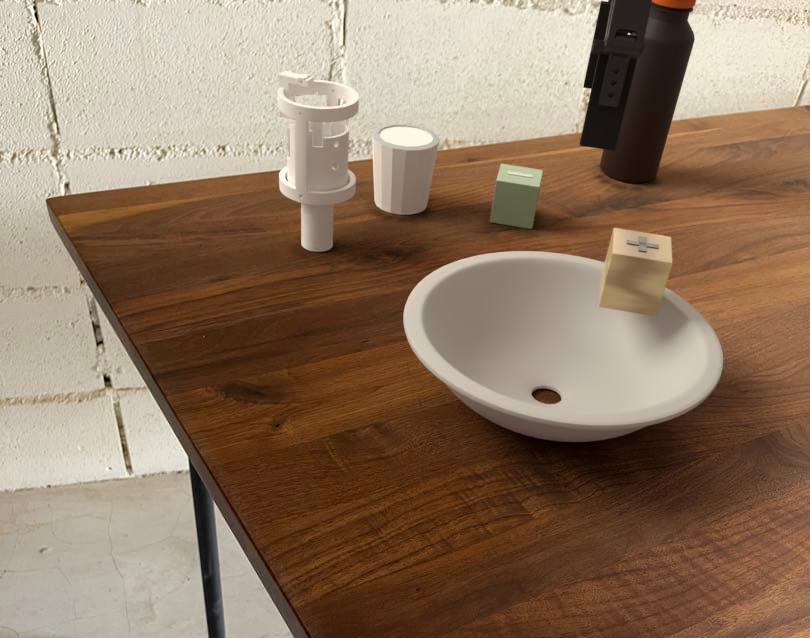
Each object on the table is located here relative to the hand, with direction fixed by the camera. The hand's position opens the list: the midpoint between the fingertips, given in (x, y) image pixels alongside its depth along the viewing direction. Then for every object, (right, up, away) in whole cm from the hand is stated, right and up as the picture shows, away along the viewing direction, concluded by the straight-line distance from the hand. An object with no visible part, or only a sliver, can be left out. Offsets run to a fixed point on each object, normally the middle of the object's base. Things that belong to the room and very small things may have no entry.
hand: (598, 116), depth 73 cm
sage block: (-4, 0, +22) cm, 22 cm away
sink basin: (-5, -24, -1) cm, 24 cm away
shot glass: (-16, +1, +22) cm, 27 cm away
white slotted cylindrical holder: (-24, -6, +14) cm, 29 cm away
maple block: (+2, -16, -2) cm, 16 cm away
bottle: (+11, +9, +33) cm, 35 cm away
